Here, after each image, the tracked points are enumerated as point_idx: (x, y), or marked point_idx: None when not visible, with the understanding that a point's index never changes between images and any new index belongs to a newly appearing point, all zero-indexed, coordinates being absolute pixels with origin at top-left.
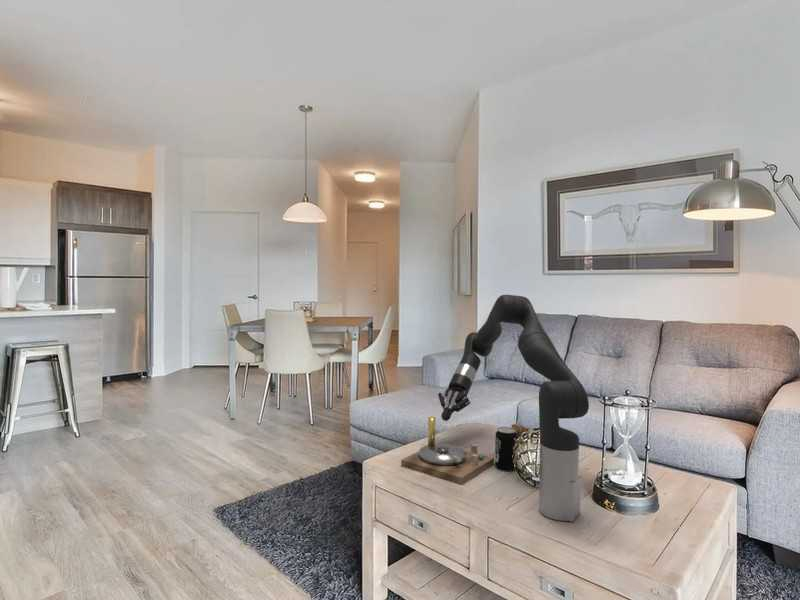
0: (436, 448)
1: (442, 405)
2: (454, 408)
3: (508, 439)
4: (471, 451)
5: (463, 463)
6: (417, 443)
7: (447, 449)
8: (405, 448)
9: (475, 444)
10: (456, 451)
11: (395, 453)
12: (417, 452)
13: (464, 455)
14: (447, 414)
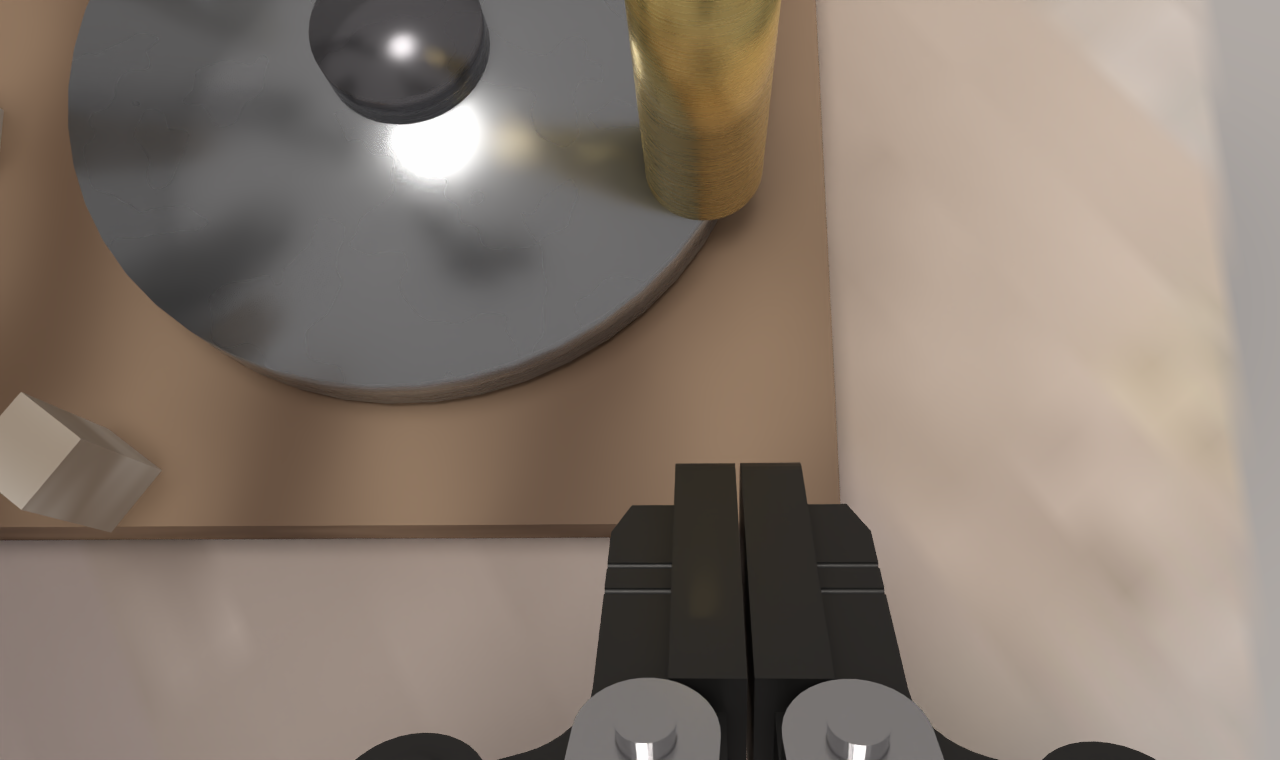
0: (553, 96)
1: (1060, 754)
2: (445, 756)
3: None
4: (121, 447)
5: None
6: (1222, 557)
7: (318, 35)
8: (1187, 256)
9: (8, 486)
10: (245, 181)
11: (1139, 29)
12: (805, 23)
13: (81, 121)
14: (667, 573)
